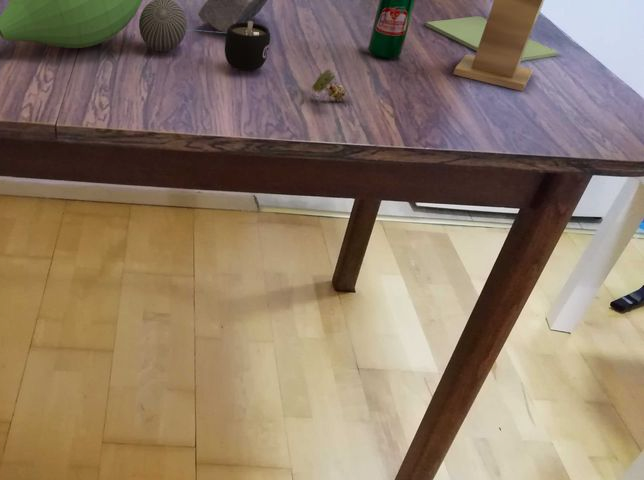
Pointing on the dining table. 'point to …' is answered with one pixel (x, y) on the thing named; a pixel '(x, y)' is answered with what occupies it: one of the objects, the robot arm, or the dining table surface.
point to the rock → (229, 12)
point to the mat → (471, 33)
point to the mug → (247, 46)
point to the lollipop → (163, 25)
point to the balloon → (66, 21)
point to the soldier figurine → (326, 80)
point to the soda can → (390, 28)
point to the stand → (503, 45)
